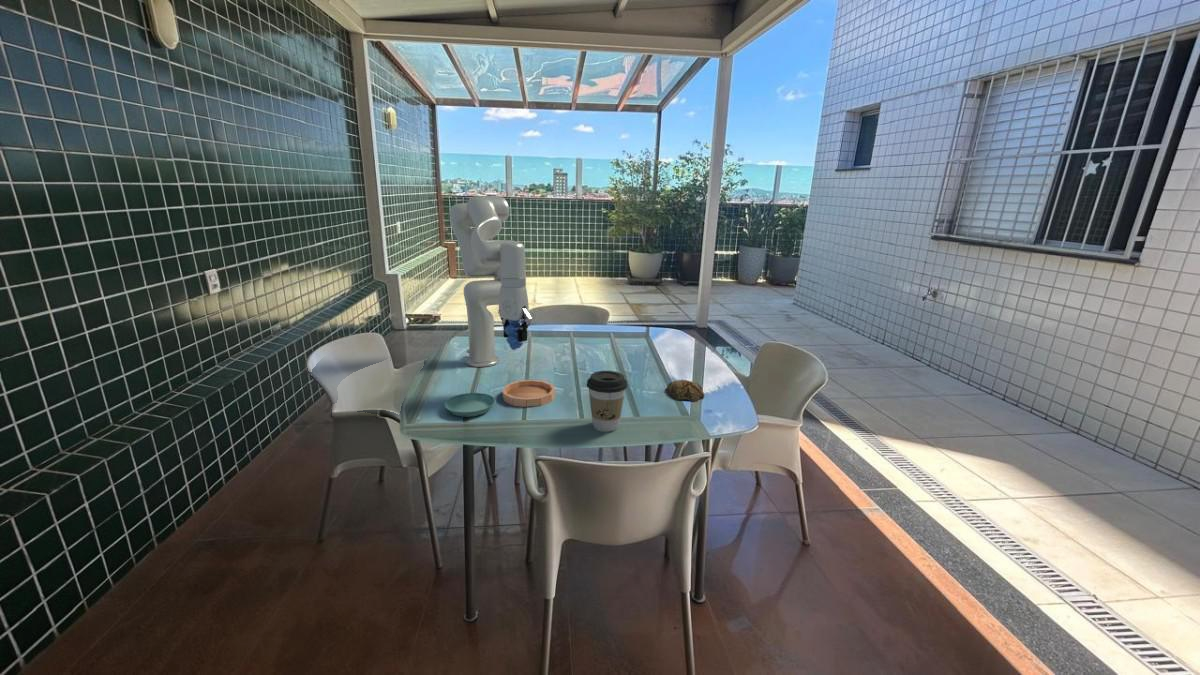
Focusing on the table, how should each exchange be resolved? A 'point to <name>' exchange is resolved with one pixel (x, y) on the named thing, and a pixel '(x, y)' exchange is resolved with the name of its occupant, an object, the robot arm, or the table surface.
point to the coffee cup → (606, 399)
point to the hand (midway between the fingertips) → (515, 338)
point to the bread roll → (685, 390)
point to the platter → (528, 393)
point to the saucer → (470, 404)
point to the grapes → (513, 334)
